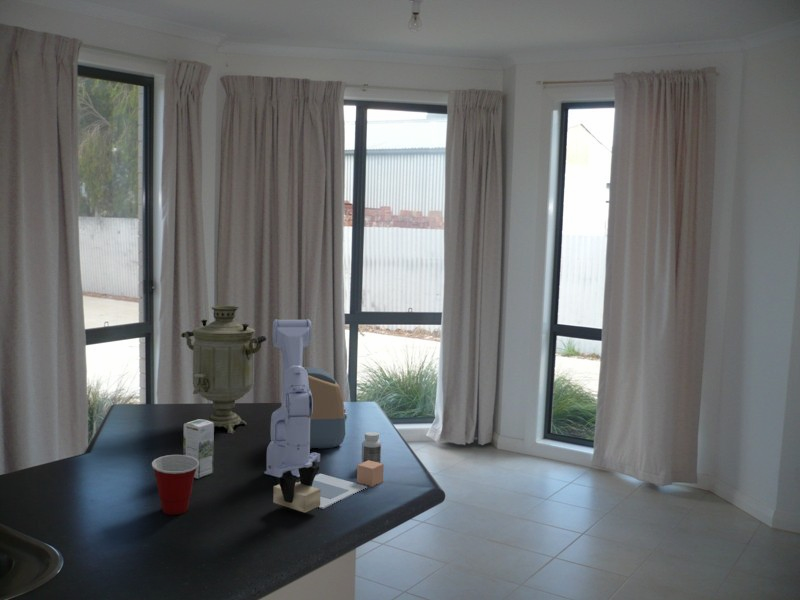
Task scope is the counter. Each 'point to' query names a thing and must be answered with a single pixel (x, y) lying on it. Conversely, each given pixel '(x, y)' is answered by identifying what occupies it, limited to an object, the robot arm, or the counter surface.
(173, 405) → the counter surface
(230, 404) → the samovar
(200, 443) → the syrup box
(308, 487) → the slab
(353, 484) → the white flat plate
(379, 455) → the pill bottle
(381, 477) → the cube
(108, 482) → the counter surface
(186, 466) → the plastic cup
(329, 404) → the orange and grey canister
